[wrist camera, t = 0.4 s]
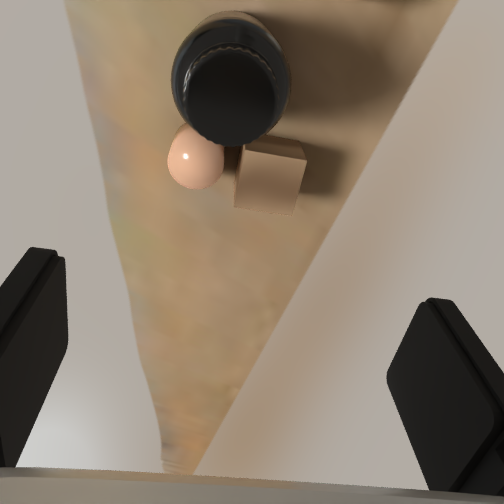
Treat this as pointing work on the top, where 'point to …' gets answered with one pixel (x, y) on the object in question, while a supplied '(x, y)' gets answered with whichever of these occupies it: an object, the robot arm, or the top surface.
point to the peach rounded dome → (195, 159)
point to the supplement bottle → (231, 79)
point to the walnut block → (269, 175)
